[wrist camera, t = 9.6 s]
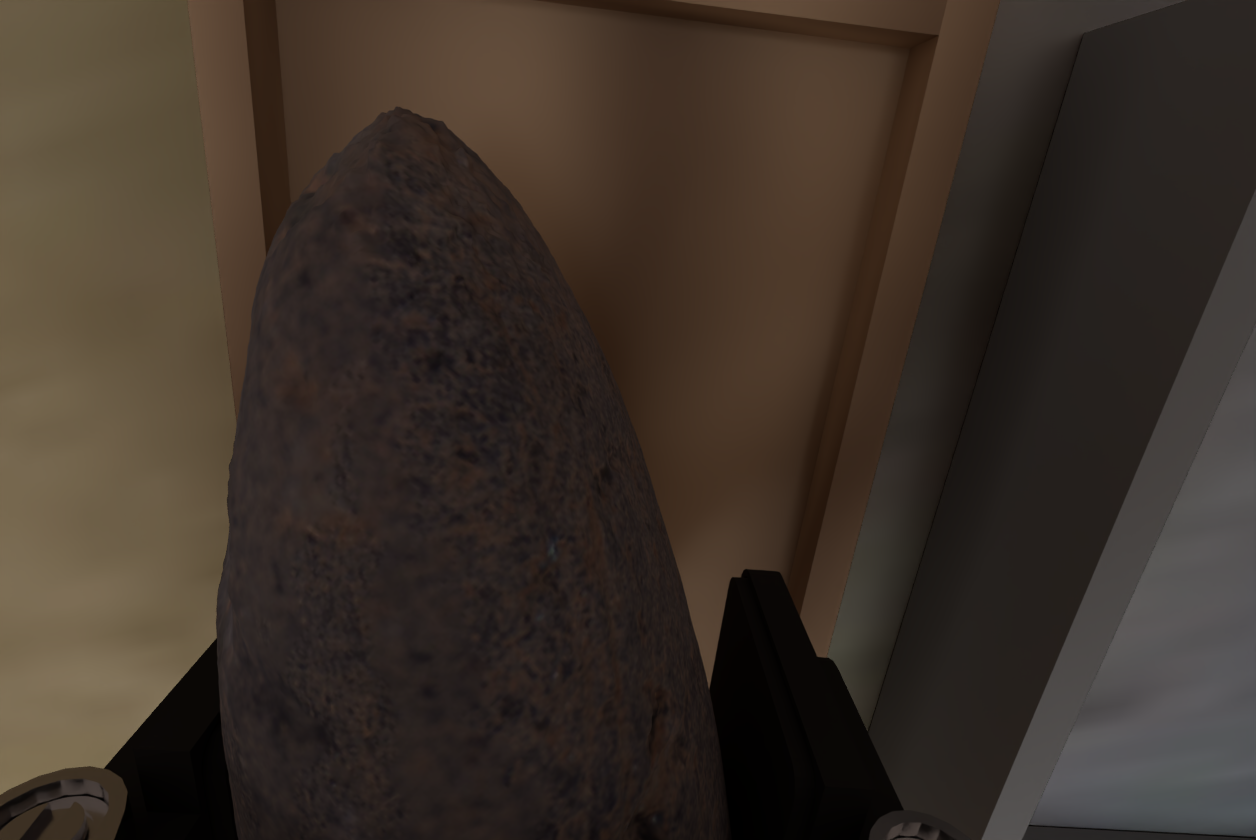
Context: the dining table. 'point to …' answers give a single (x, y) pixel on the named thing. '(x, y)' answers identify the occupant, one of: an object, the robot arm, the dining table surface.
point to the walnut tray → (657, 217)
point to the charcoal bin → (1081, 417)
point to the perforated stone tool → (446, 535)
